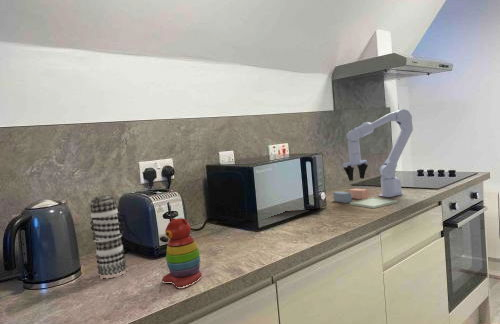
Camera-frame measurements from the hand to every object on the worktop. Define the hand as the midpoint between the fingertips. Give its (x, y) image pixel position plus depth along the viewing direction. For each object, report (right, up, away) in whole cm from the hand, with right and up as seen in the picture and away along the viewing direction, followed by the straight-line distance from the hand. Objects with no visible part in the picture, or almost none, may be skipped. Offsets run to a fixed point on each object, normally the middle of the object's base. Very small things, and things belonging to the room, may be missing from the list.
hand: (356, 179), depth 194 cm
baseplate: (+3, -11, -16) cm, 20 cm away
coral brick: (+2, -10, +1) cm, 10 cm away
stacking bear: (-73, -25, -87) cm, 117 cm away
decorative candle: (-98, -27, -75) cm, 126 cm away
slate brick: (-8, -11, -3) cm, 14 cm away
